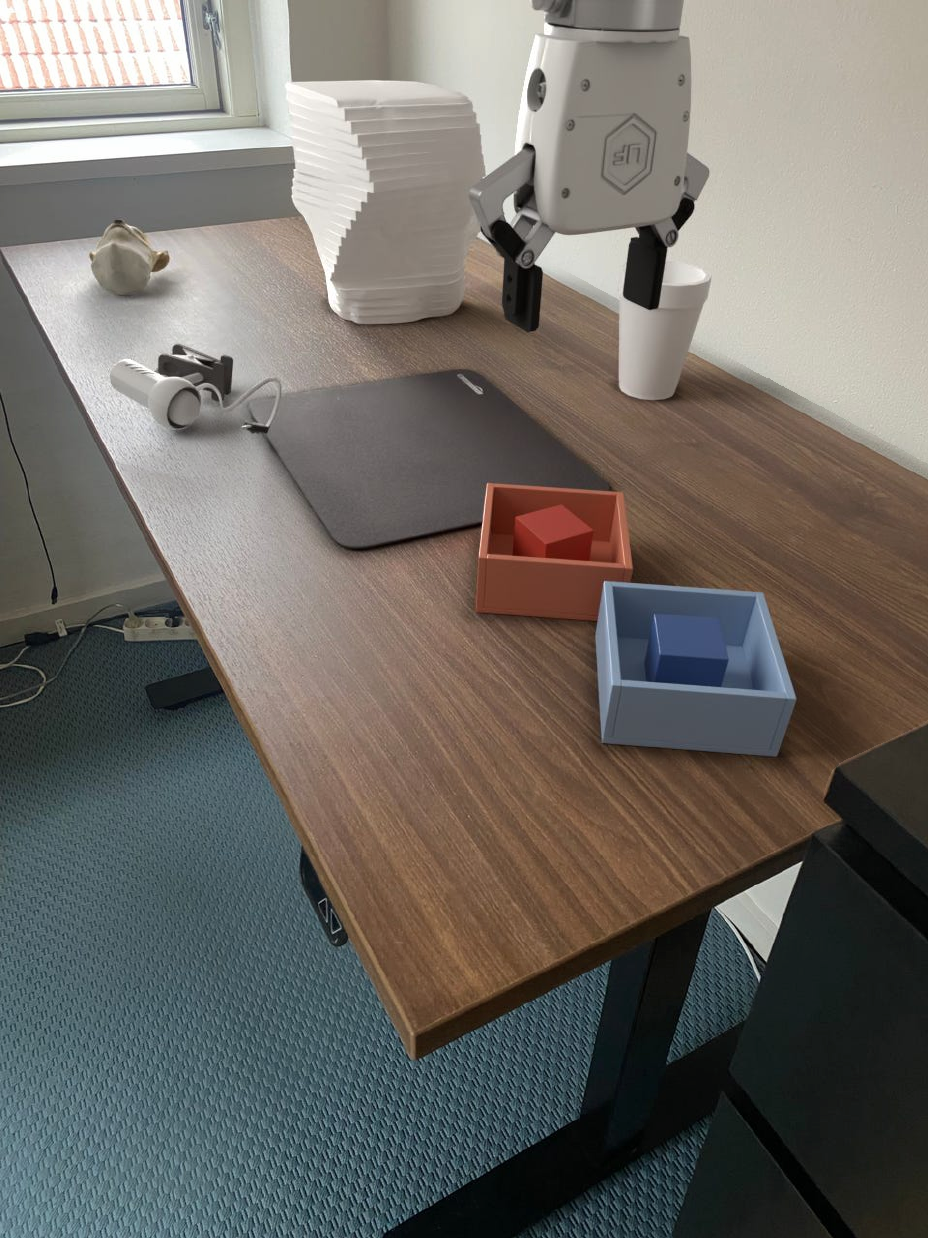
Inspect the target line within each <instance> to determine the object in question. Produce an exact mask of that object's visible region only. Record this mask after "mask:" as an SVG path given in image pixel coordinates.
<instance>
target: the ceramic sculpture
mask: <svg viewBox="0 0 928 1238" xmlns="http://www.w3.org/2000/svg"><path fill="white" fill-rule="evenodd" d="M149 241H150V240H149V239H148V238H147V236H146V234H145V233H144V232H143V231H142V230H141V229H140V228H138V227H136V226H133V225H132V226H131V225H129V224H127V223H126V222H125V220H123V219H120V218H117V219H115V220H113V222H112V223H111V224H110V225H109V226H108V227H107V228H106V229H105V230H104V231H103V233H102V235H101V236H100V240H99V241H98V242H97V244H96V247H95V252H93V251H90V252H89V254H88V257H89V259H90V262H91V263H90V268H91V271H92V272H91V273H92V274H93V276H94V278H95V280H96V282H97V283H98V285H100V286H101V288H102V289H103V290H105V291H106V292H108V293H110V294H115V295H119V296H130V295H134V294H139V293H141V292H143V291H144V290H145V289H146V288H147V286H148V283H149V281H150V278H151V273H157V272H160V271H162V270H164V269H166V267H167V266H168V265H169V263H170V257H171V256H170V255H169V251H168V250H163V251H156V250H154V249H153V247H152V244H151V243H150V242H149Z"/></svg>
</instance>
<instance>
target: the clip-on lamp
mask: <svg viewBox="0 0 928 1238" xmlns="http://www.w3.org/2000/svg"><path fill="white" fill-rule="evenodd" d="M171 351H172V353H171V354H168V353H162V354H159V356H158V359H157V360H158V361H157V368H156V369H155V370H152V369H150V368H147V367H146V366H144V365H142V364H140V363H138V362H136V361H134V360H131V359H128V358H124V359H121V360H119V361H117V362H116V363H115V364H113V366H112V367H111V369H110V372H109V381H110V384H111V386H112V388H113V390H116V392H118V393H120V394H122V395H124V396H125V397H127V398H129V399H131V400H132V401H134V402H136V403H138V404H139V405H141V406H142V407H145V409H148V410H149V413H150V415H151V416H152V418H153V419H154V420H155V422H157V423H158V424H159V425H160V426H162V427H163V428H166V429H169V430H173V431H181V430H185V429H187V428H189V426H191V425H192V424H193V423H194V422H195V421H196V420H197V419H198V417H199V416H200V413H201V408H202V407H201V406H202V395H201V394H200V391H202V390H203V391H207V392H209V393H211V394H210V398H211V400H212V401H214V402H217V403H219V406H220V411H221V412H222V413H224V414H227V413H230V412H232V411H234V409H236V408H237V407H239V406H240V405H241V404H242V403H243V402H244V401H245V400H247V399H248V398H249V397H251V396H252V395H253V394H254V393H255V392H256V391H257V390H259V389H260V388H261V387H263V386H265V385H267V384H268V383H271V382H274V383H276V387H277V390H276V391H277V393H276V396H277V398H276V401H275V405H274V408H273V411H272V414H271V417H270V419H269V421H268V423H267V424H266V425H264V424H261V423H257V422H254V421H244V422H243V425H241V426H240V429H242V430H246V431H248V432H250V433H251V434H255V433H256V434H258V435H260V434H264V433H268V430H269V427H270V426H271V424H272V422H273V420H274V418H275V415H276V412H277V409H278V406H279V402H280V397H281V395H282V385H281V384H282V383H281V380H280V379H278V378H277V377H276V376H275V377H274V376H273V377H271V376H269V377H268V378H265V379H263V380H261V381H260V382H258V383H256V384H255V385H254V386H253V387H251V388H250V389H248V390H247V391H246V392H245V393H244V394H242V396H240V397H239V398H237V400H235V401H234V402H233V403H232V404H230V405H229V406H227V407H224V404H223V402H224V400H225V395H226V396H228V395H230V394H231V393H232V384H233V383H232V382H233V369H234V359H233V357H231V356H229V355H227V354H222V355H221V356H220V359H218V358H215V357H213V356H211V355H209V354H206V353H204V352H201V351H198V350H196V349H194V348H192V347H189V346H186V345H183V344H181V343H176V344H174V345H172V350H171Z"/></svg>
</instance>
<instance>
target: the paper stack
mask: <svg viewBox="0 0 928 1238" xmlns="http://www.w3.org/2000/svg"><path fill="white" fill-rule="evenodd" d="M284 89H285V96H286V101H287V108H288V109H287V111H288V113H289V118H290V130H291V131H290V133H291V143H292V150H293V159H294V167H295V169H293V170H292V171H293V177H292V179H291V180H292V186H291V194H290V196H291V200H292V203H293V206H294V207H295V209H296V210H297V211H298V212H299V214H301V215H302V216H303V217H304V220H305V222H306V224H307V226H308V228H309V230H310V232H311V235H312V238H313V242H314V244H315V247H316V249H317V254H318V256H319V260H320V262H321V265H322V268H323V271H324V274H325V280H326V287H327V295H328V297H327V298H328V303H329V306H330V308H331V310H332V311H333V312H334V313H336V314H337V315H338V317H340V318H341V319H342V320H345V321H350V322H353V323H355V324H358V325H380V324H381V325H387V324H405V323H412V322H417V321H420V320H422V319H423V320H424V319H427V318H439V317H445V316H450V315H452V314H454V313H455V312H456V311H458V309H459V308H460V306H461V305H462V302H463V300H464V299H465V296H466V292H467V281H466V275H465V274H466V273H465V272H466V270H465V269H466V261H467V259H468V256H469V252H468V249H469V247H470V246H471V245H473V244H474V243H475V244H476V242H477V240H478V239H479V238H478V235H479V234H480V233H482V232H481V229H480V227H481V224H480V222H479V221H478V219H477V217H476V214H475V212H474V209H473V207H472V204H471V202H470V200H469V191H470V189H471V188H472V187H473V186H474V185H475V184H477V183H478V182H479V181H481V180H482V179H483V178H485V177H486V176H487V175H486V174H487V173H486V172H487V171H486V165H485V160H484V154H483V144H482V135H481V124H480V123H478V121H477V112H476V111H474V105H473V101H472V100H471V99H469V97H468V96H467V95H465V94H464V93H462V92H459V91H455V90H453V89H451V90H450V89H447V88H444V87H442V86H441V85H438V84H437V85H436V84H431V83H426V82H421V81H413V80H412V81H408V80H376V79H369V80H368V79H366V80H363V79H362V80H320V81H318V80H317V81H315V80H314V81H286V82H285V85H284Z"/></svg>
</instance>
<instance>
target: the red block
mask: <svg viewBox="0 0 928 1238" xmlns="http://www.w3.org/2000/svg"><path fill="white" fill-rule="evenodd" d="M593 532H594V531H593V529H591V528H590V527H589V526H588V525H586V524H585V523H584V522H583V521H581V520H580V519H579V518H578V517H576V516H575V515H574V514H573V513H571V512H570V511H569V510H568V509H567V508H565V507H564V506H563V505H558V506H554V507H550V508H547V509H543V510H539V511H536V512H532V513H528V514H525V515H521V516H517V517H515V529H514V541H513V554H512V556H522V557H536V558H550V559H564V560H578V561H589V560H590V553H591V546H592V539H593Z"/></svg>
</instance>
